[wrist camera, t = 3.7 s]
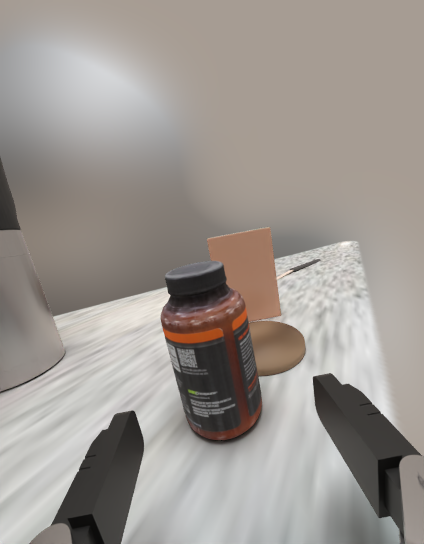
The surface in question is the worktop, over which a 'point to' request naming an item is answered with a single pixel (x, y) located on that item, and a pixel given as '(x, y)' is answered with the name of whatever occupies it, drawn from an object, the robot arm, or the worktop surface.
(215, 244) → the tile
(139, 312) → the worktop surface
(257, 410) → the supplement bottle
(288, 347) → the coaster
